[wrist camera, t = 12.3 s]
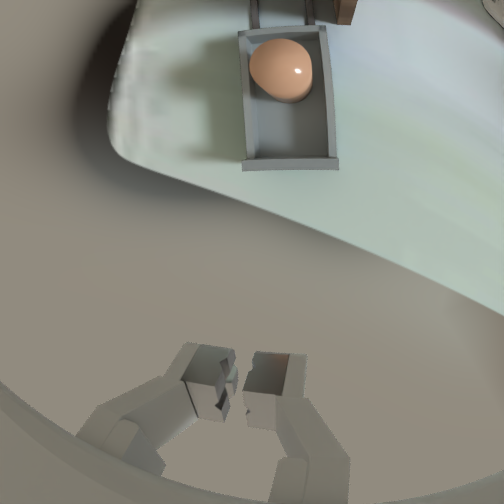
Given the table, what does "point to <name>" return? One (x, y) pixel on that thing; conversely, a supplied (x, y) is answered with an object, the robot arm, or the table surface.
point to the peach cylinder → (282, 70)
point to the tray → (289, 108)
